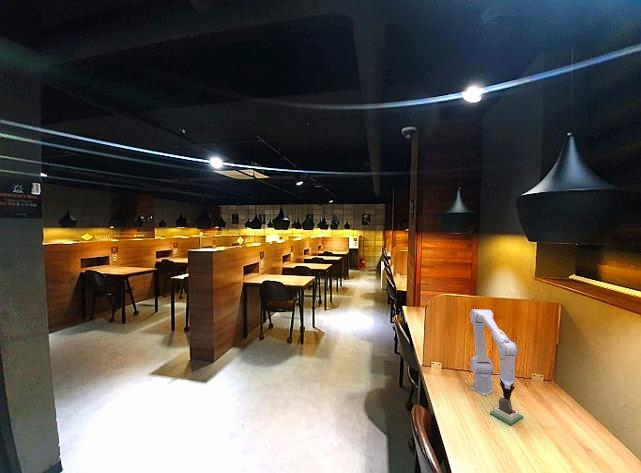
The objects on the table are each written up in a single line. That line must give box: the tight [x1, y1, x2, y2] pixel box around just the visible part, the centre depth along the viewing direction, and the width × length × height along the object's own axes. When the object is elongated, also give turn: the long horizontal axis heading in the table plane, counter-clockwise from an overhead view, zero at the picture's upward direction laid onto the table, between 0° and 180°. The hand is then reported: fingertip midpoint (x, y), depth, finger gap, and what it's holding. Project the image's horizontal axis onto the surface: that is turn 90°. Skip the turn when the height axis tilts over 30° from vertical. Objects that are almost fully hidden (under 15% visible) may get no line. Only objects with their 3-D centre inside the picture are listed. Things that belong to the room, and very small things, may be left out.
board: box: [489, 409, 524, 427], centre depth 128 cm, size 11×9×1 cm
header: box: [493, 405, 520, 421], centre depth 128 cm, size 7×7×2 cm
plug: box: [498, 397, 517, 415], centre depth 128 cm, size 4×6×6 cm
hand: (506, 397), depth 128 cm, fingers open, 2 cm apart
